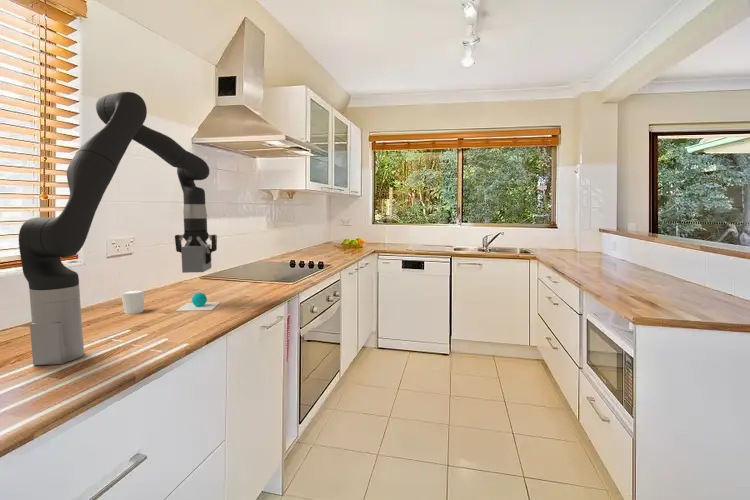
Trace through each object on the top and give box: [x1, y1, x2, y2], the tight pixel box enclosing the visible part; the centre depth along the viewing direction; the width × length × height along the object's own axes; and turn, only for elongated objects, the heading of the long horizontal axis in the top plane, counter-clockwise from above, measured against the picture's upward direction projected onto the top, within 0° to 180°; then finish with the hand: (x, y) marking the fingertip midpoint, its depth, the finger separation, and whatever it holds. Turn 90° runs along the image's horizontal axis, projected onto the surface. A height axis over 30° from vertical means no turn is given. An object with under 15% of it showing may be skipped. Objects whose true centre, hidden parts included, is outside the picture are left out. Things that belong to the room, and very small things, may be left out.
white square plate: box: [175, 301, 221, 312], centre depth 149 cm, size 12×12×1 cm
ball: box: [191, 292, 208, 306], centre depth 149 cm, size 5×5×5 cm
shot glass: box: [121, 289, 145, 315], centre depth 141 cm, size 7×7×7 cm
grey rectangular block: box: [180, 243, 212, 274], centre depth 147 cm, size 11×7×9 cm, turn 7°
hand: (197, 263), depth 147 cm, fingers closed on grey rectangular block, 7 cm apart
